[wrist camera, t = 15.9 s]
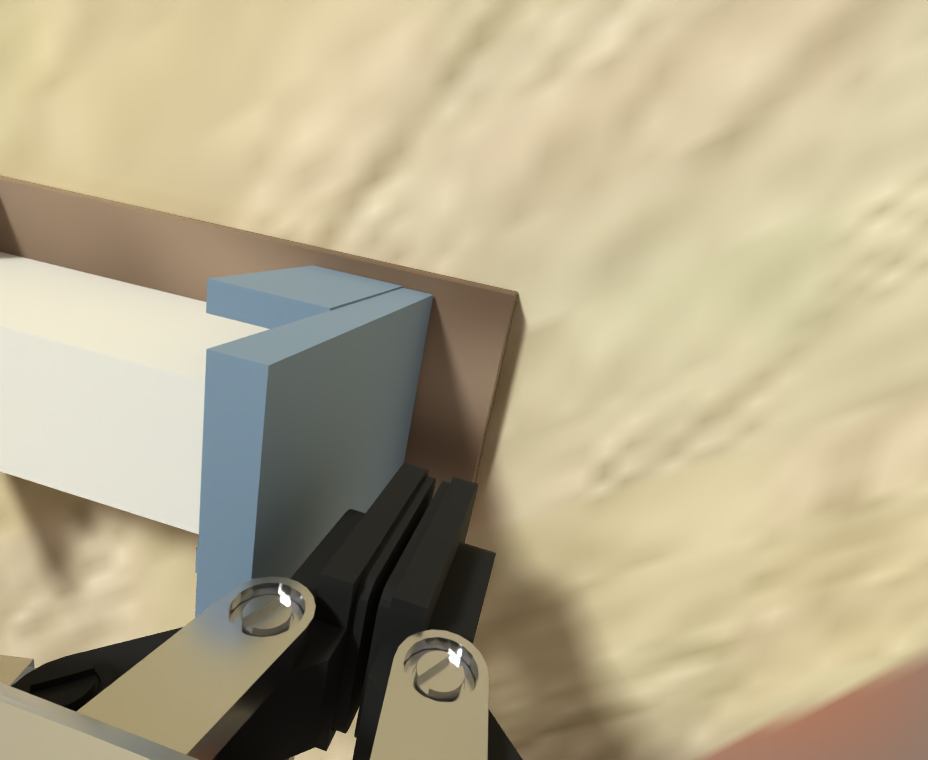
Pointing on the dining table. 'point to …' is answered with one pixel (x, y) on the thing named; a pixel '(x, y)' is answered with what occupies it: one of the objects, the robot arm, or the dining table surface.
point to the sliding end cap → (300, 415)
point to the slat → (105, 388)
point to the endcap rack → (241, 252)
